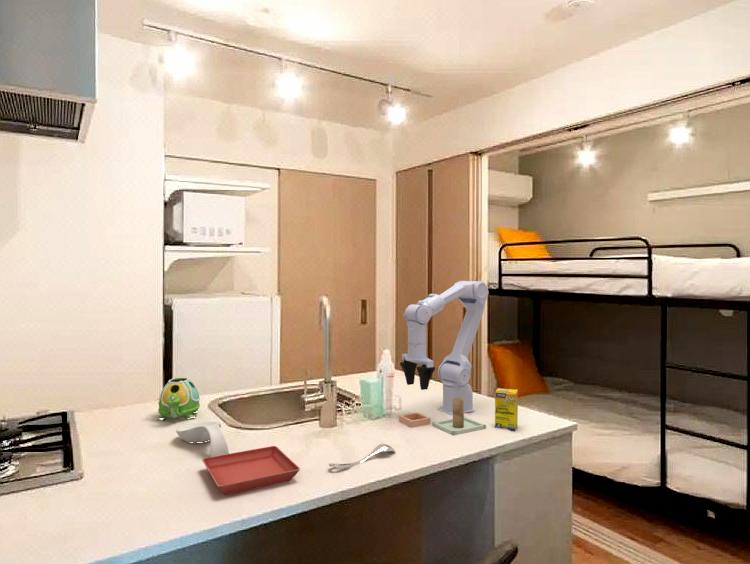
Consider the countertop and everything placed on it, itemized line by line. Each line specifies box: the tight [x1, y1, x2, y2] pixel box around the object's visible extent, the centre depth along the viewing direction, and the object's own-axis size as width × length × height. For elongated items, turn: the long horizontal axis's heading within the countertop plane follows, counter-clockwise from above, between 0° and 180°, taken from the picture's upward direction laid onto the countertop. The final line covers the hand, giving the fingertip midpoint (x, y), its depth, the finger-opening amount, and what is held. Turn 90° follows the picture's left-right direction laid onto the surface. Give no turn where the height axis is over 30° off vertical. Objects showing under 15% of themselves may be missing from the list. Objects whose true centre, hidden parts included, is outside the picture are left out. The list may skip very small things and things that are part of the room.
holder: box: [398, 412, 431, 428], centre depth 154 cm, size 7×7×2 cm
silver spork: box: [328, 443, 396, 470], centre depth 124 cm, size 20×4×5 cm
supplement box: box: [494, 387, 519, 432], centre depth 151 cm, size 6×6×11 cm
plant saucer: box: [201, 445, 301, 495], centre depth 116 cm, size 18×18×3 cm
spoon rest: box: [175, 421, 230, 457], centre depth 136 cm, size 24×12×7 cm, turn 36°
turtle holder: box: [157, 377, 201, 419], centre depth 160 cm, size 12×18×12 cm
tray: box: [432, 416, 487, 436], centre depth 149 cm, size 12×10×1 cm
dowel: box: [452, 398, 465, 428], centre depth 149 cm, size 3×3×8 cm
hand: (417, 386), depth 158 cm, fingers open, 7 cm apart
